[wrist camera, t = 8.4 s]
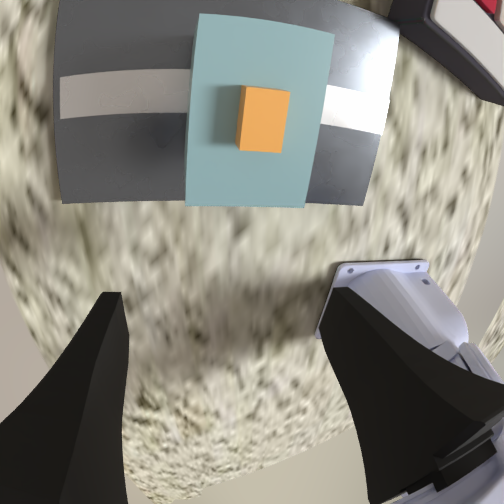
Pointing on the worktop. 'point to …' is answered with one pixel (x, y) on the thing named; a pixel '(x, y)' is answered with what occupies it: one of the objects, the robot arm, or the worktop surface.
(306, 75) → the block
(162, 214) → the worktop surface
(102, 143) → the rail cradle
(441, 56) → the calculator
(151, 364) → the worktop surface
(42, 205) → the worktop surface
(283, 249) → the worktop surface
